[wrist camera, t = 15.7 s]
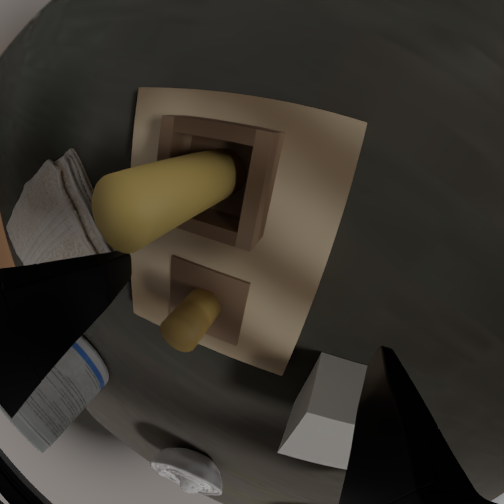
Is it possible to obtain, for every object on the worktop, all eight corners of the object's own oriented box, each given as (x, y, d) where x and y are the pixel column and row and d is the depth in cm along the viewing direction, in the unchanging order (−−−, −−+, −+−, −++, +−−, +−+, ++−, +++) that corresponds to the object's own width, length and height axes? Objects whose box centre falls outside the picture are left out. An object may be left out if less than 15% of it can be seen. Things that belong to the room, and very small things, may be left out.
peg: (240, 202, 14) (148, 264, 8) (197, 190, 14) (93, 239, 8) (249, 153, 13) (151, 181, 7) (203, 144, 13) (91, 167, 7)
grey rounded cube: (364, 421, 19) (357, 471, 15) (294, 402, 21) (277, 452, 16) (404, 375, 16) (406, 434, 12) (321, 351, 18) (306, 412, 13)
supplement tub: (74, 315, 27) (-14, 391, 15) (124, 379, 29) (51, 463, 17) (54, 329, 32) (-15, 388, 19) (94, 381, 34) (35, 445, 21)
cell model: (150, 432, 35) (128, 463, 29) (205, 439, 29) (181, 480, 23) (191, 466, 37) (173, 495, 31) (247, 474, 31) (231, 511, 25)
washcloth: (144, 268, 21) (118, 288, 18) (63, 308, 29) (46, 321, 26) (78, 135, 18) (47, 142, 15) (19, 224, 26) (0, 233, 23)
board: (286, 364, 19) (267, 416, 15) (142, 304, 22) (105, 339, 18) (365, 123, 12) (374, 119, 8) (151, 88, 14) (92, 85, 10)
